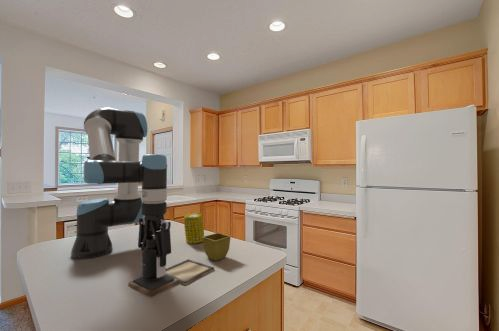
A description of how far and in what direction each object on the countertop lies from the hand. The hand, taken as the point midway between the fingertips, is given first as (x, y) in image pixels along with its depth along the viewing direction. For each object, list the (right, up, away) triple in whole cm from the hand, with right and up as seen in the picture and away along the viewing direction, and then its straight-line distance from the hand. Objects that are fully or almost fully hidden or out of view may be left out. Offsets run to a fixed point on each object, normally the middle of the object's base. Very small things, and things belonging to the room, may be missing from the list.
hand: (153, 272), depth 75 cm
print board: (+8, -4, +9) cm, 13 cm away
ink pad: (0, -4, 0) cm, 4 cm away
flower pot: (+17, -4, +22) cm, 28 cm away
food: (+3, -5, +44) cm, 44 cm away
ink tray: (0, -4, 0) cm, 4 cm away
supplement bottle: (0, -1, 0) cm, 1 cm away
